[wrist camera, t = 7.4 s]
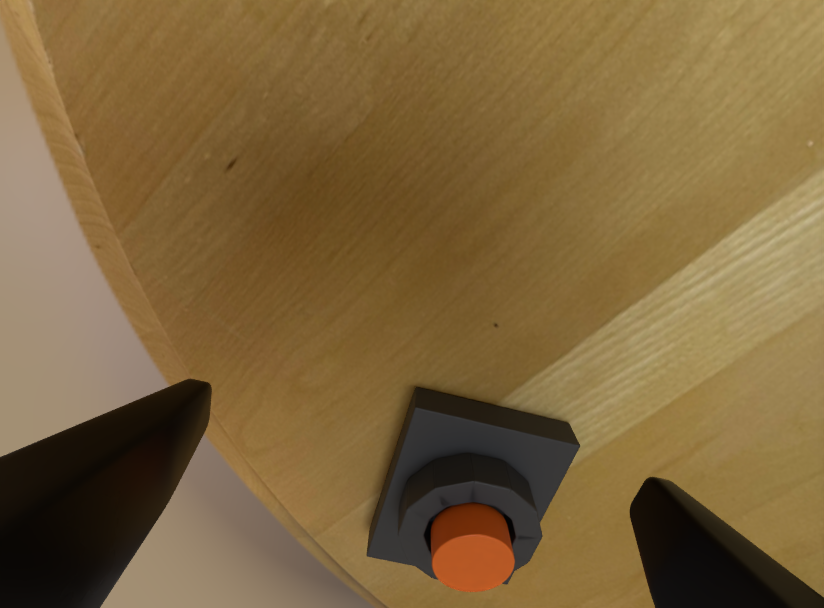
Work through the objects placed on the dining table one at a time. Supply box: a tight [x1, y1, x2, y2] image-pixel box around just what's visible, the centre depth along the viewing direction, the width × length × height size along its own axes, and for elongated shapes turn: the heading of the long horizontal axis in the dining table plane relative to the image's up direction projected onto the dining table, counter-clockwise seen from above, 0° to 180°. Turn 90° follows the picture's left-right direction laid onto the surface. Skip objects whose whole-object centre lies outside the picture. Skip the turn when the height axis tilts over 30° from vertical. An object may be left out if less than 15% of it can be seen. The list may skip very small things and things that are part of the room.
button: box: [431, 502, 515, 592], centre depth 20 cm, size 4×4×2 cm
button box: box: [367, 387, 580, 584], centre depth 22 cm, size 8×10×4 cm
